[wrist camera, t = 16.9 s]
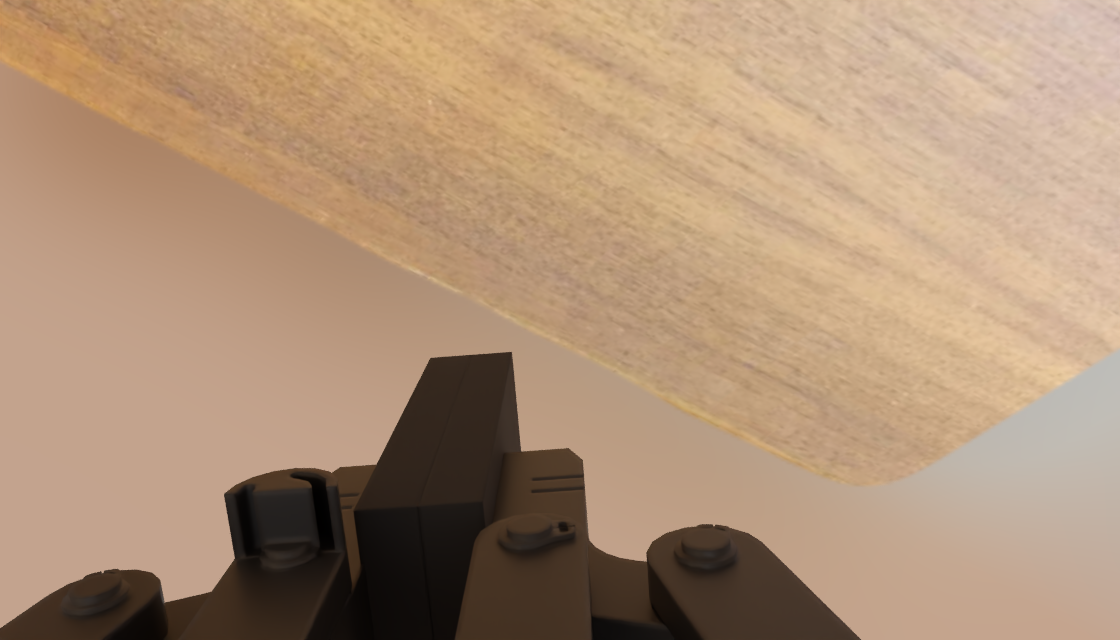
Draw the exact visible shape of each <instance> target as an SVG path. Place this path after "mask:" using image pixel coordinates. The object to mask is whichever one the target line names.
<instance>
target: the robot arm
mask: <svg viewBox="0 0 1120 640" xmlns="http://www.w3.org/2000/svg"><path fill="white" fill-rule="evenodd" d="M224 497H225V502H226V508H227V514H228V520H229V526H230V532H231V537H232V544H233V550H234V555H235V559H234V561H233V562H232V564H231V565H230V566H229V568H228V569H227V571H226V572H225V574H224V575H223V576H222V578H221V579H220V581H219V582H218V584H217V585H216V587H215V588H214V589H213V591H212V592H209V593H205V594H201V595H197V596H192V597H188V598H184V599H179V600H175V601H170V602H166V603H164V598H163V592H162V587H161V582H160V579H159V578H157V577H156V576H155V575H154V574H153V573H150V572H146V571H141V570H118V569H112V570H106V571H104V573H102V572H101V571H100V572H97V573H93V574H89V575H87V576H85V577H84V578H83V579H82V580H79V581H76V582H73V583H70V584H68V585H66V586H64V587H63V588H61V589H59V590H57V591H55V592H53V593H52V594H50V595H48V596H47V597H45V598H44V599H42V600H41V601H39V602H38V603H36V604H35V605H33V606H32V607H30V608H29V609H28V610H26V611H25V612H23V613H22V614H20V615H19V616H17V617H16V618H15V619H13V620H12V621H10V622H9V623H7V624H6V625H4V626H3V627H2V628H0V640H861V639H860V638H859V637H858V636H857V635H856V634H855V633H854V632H853V631H852V630H851V629H850V628H849V627H848V626H847V625H846V624H845V623H843V621H842V620H841V619H840V618H839V617H837V616H836V615H835V614H834V613H833V612H832V611H831V610H830V609H829V608H828V607H827V606H826V605H825V604H824V603H823V602H822V601H821V600H820V599H819V598H818V597H817V596H816V595H815V594H814V593H813V592H812V591H811V590H810V589H809V588H808V587H807V586H806V585H805V584H804V583H803V582H802V581H801V580H800V579H799V578H798V577H797V576H796V575H795V574H794V573H793V572H792V571H791V570H790V569H789V568H788V567H787V566H786V565H785V564H784V563H783V562H781V560H780V559H778V557H777V556H776V555H775V554H773V553H772V552H771V551H770V550H769V549H768V548H767V547H766V546H765V545H764V544H763V543H762V542H761V541H759V540H758V539H756V538H755V537H753V536H752V535H750V534H748V533H745V532H742V531H738V530H735V529H732V528H729V527H727V526H721V525H715V526H713V525H711V524H710V525H709V524H706V525H705V524H702V525H698V526H697V527H687V528H683V529H679V530H676V531H673V532H669V533H666V534H664V535H662V536H661V537H659V538H658V539H656V540H655V541H653V542H652V544H651V545H650V547H649V549H648V551H647V562H644V561H635V560H629V559H623V558H618V557H615V556H612V555H609V554H606V553H605V552H603V551H601V550H599V549H598V548H596V547H595V546H594V545H593V544H592V543H591V542H590V541H589V537H588V523H587V510H586V497H585V484H584V471H583V460H582V459H581V458H580V457H578V456H577V455H576V454H575V453H573V452H572V451H571V450H570V449H569V448H566V449H552V450H539V451H527V452H526V451H525V452H521V446H520V436H519V425H518V414H517V403H516V392H515V382H514V370H513V359H512V352H506V353H492V354H478V355H465V356H452V357H438V358H430V360H429V362H428V364H427V366H426V368H425V370H424V372H423V374H422V376H421V378H420V380H419V382H418V384H417V386H416V388H415V390H414V392H413V394H412V396H411V398H410V400H409V402H408V404H407V406H406V408H405V409H404V411H403V414H402V416H401V417H400V420H399V422H398V423H397V425H396V427H395V429H394V431H393V433H392V435H391V437H390V439H389V441H388V443H387V445H386V447H385V449H384V451H383V453H382V455H381V457H380V459H379V461H378V463H377V465H366V466H352V467H340V468H339V469H337V470H335V471H334V472H333V473H331V472H329V471H325V470H320V469H315V468H294V469H287V470H280V471H274V472H270V473H266V474H263V475H259V476H256V477H252V478H250V479H248V480H246V481H244V482H241V483H239V484H237V485H235V486H234V487H233V488H231V489H230V490H229V491H227V492H226V493H225V494H224Z"/></svg>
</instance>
